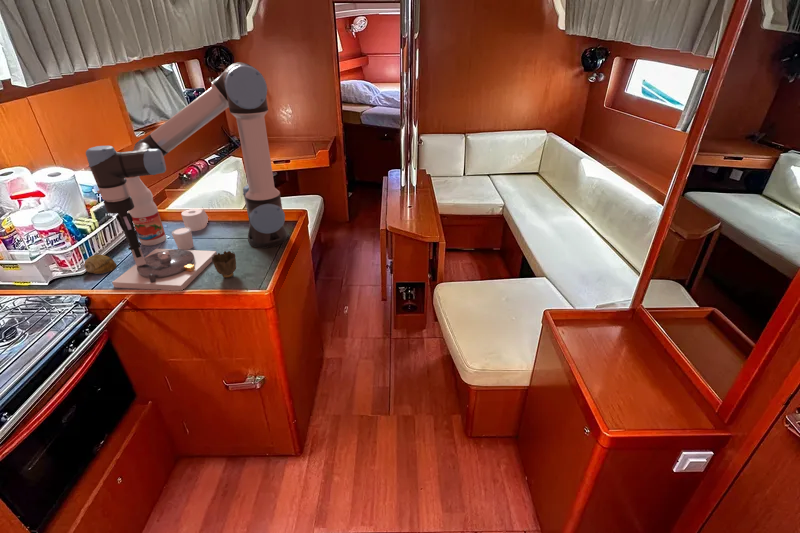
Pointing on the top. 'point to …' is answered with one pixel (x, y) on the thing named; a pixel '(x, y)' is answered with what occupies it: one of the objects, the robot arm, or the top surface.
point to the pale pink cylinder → (183, 238)
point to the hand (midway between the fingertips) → (141, 264)
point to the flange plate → (167, 263)
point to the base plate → (167, 283)
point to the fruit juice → (145, 213)
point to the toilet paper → (195, 219)
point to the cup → (225, 263)
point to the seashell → (99, 264)
